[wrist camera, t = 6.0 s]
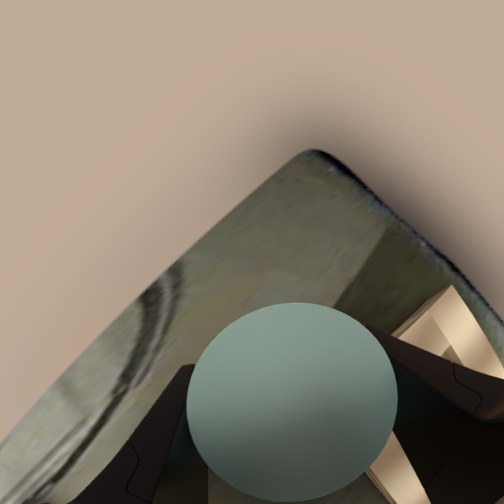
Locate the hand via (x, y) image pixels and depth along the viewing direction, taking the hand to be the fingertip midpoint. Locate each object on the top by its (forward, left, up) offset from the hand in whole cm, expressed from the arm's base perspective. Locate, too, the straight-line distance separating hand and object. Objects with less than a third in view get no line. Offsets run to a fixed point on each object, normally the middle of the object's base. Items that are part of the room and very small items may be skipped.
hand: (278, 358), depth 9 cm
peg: (-1, +1, -7) cm, 7 cm away
